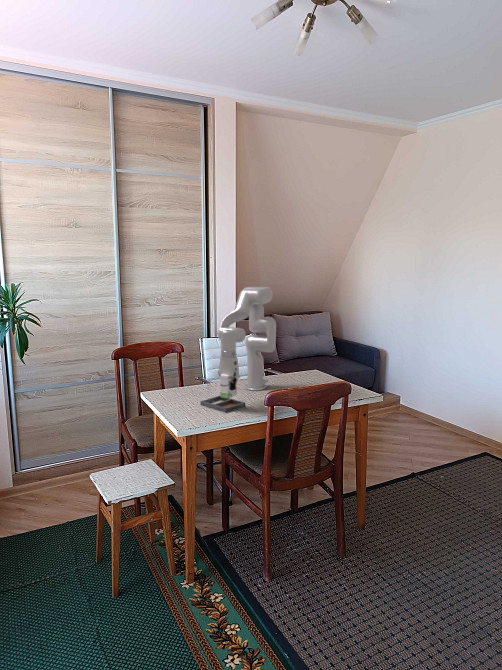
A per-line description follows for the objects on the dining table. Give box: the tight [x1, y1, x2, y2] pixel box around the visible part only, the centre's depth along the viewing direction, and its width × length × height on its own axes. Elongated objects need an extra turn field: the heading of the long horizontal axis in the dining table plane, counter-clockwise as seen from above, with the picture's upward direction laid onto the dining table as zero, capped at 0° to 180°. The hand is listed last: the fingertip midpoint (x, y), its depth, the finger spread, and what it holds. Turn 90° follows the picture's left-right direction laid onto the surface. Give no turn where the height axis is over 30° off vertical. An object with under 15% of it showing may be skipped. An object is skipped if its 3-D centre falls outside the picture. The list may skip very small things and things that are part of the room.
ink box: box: [219, 374, 238, 399], centre depth 239 cm, size 9×5×12 cm, turn 149°
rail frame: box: [200, 395, 246, 414], centre depth 243 cm, size 14×19×2 cm
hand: (228, 388), depth 239 cm, fingers closed on ink box, 5 cm apart
